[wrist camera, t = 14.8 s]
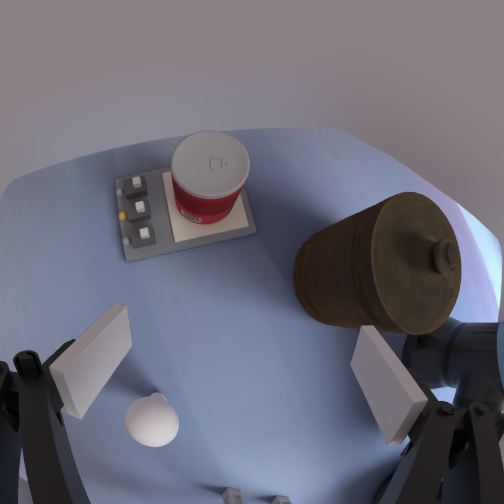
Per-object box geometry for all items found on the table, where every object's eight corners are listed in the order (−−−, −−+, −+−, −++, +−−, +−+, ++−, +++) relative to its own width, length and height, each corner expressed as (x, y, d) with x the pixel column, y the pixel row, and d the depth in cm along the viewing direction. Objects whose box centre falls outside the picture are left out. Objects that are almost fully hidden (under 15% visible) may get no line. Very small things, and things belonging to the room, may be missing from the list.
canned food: (240, 219, 37) (260, 188, 26) (181, 232, 35) (178, 205, 24) (226, 169, 38) (239, 125, 27) (170, 180, 36) (164, 137, 25)
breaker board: (234, 158, 40) (239, 144, 36) (255, 234, 39) (262, 226, 35) (116, 182, 36) (109, 170, 32) (128, 263, 34) (120, 258, 30)
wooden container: (380, 312, 41) (492, 312, 20) (301, 335, 38) (410, 364, 17) (365, 225, 43) (468, 179, 22) (284, 234, 40) (377, 170, 19)
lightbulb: (135, 376, 32) (116, 405, 21) (179, 379, 33) (175, 410, 23) (139, 415, 31) (124, 453, 20) (181, 418, 32) (180, 458, 22)
